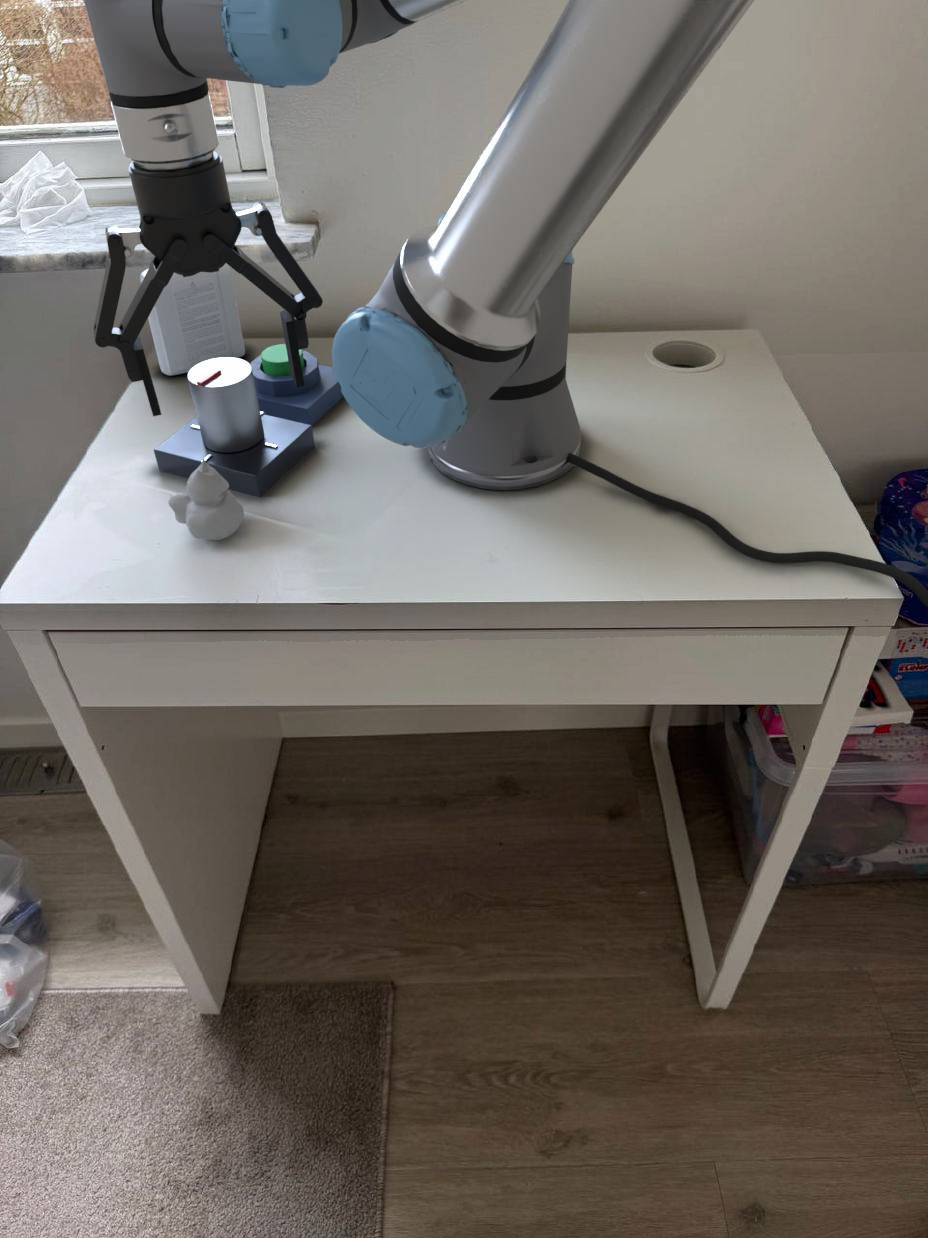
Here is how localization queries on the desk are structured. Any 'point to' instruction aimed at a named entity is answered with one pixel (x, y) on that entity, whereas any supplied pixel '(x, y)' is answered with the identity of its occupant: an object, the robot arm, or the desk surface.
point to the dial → (226, 404)
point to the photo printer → (196, 321)
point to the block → (297, 391)
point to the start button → (277, 360)
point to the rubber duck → (207, 505)
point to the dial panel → (239, 455)
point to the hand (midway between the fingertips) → (228, 394)
